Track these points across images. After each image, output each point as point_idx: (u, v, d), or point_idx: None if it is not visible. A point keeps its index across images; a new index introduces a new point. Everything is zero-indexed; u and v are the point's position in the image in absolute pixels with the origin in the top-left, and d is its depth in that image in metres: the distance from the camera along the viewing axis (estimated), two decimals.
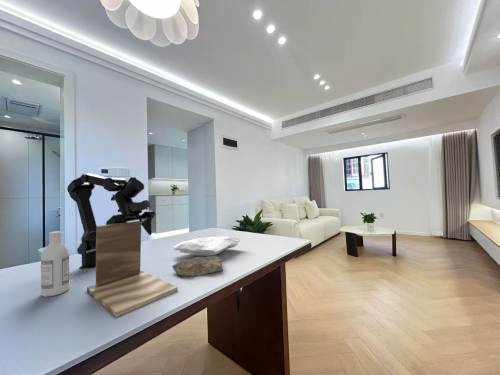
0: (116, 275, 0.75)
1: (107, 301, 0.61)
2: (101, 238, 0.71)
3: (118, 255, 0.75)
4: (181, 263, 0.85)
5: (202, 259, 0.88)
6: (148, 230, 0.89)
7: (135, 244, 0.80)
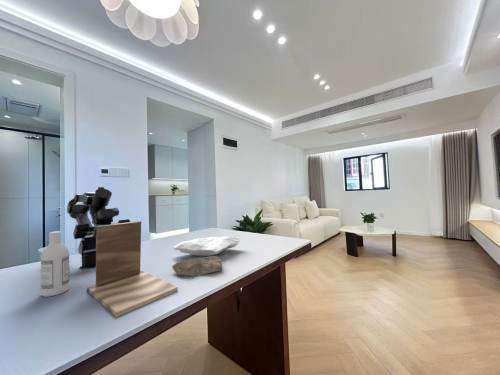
0: (116, 275, 0.75)
1: (107, 301, 0.61)
2: (101, 238, 0.71)
3: (118, 255, 0.75)
4: (181, 263, 0.85)
5: (202, 259, 0.88)
6: None
7: (135, 244, 0.80)
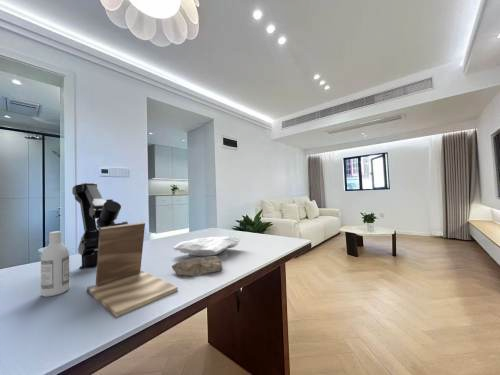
0: (117, 275, 0.75)
1: (107, 301, 0.61)
2: (104, 240, 0.69)
3: (119, 256, 0.74)
4: (181, 263, 0.85)
5: (201, 259, 0.88)
6: None
7: (137, 245, 0.79)
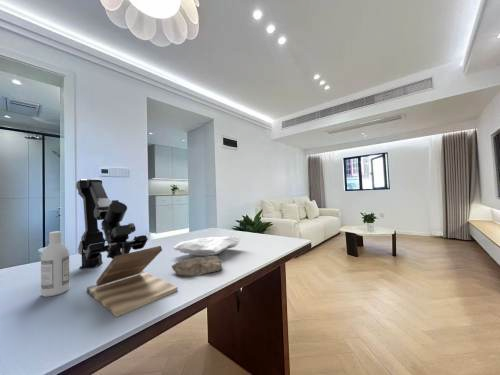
0: (118, 278, 0.74)
1: (107, 301, 0.61)
2: (115, 266, 0.64)
3: (126, 270, 0.71)
4: (180, 263, 0.85)
5: (201, 259, 0.88)
6: None
7: (146, 262, 0.74)
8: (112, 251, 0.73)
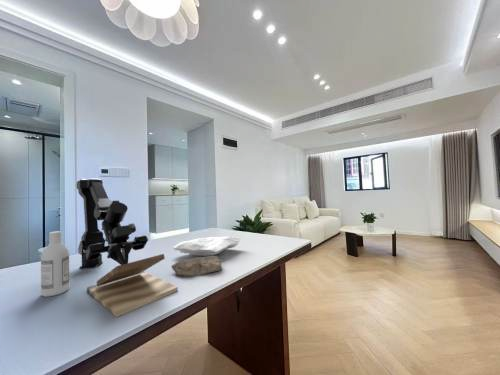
0: (118, 279, 0.74)
1: (107, 301, 0.61)
2: (117, 273, 0.63)
3: (127, 274, 0.70)
4: (180, 263, 0.85)
5: (201, 259, 0.88)
6: (125, 262, 0.74)
7: (148, 266, 0.74)
8: (112, 252, 0.73)
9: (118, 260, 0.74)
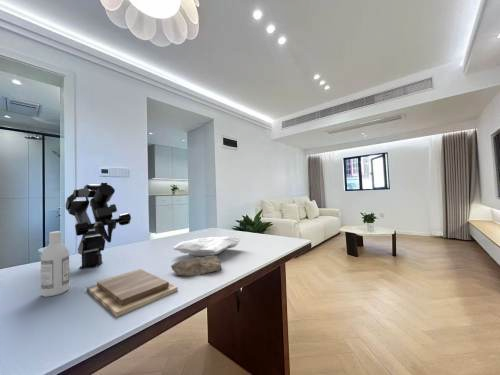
0: None
1: (107, 301, 0.61)
2: None
3: None
4: (180, 263, 0.85)
5: (201, 259, 0.88)
6: (108, 238, 0.85)
7: None
8: (97, 229, 0.84)
9: (103, 236, 0.85)
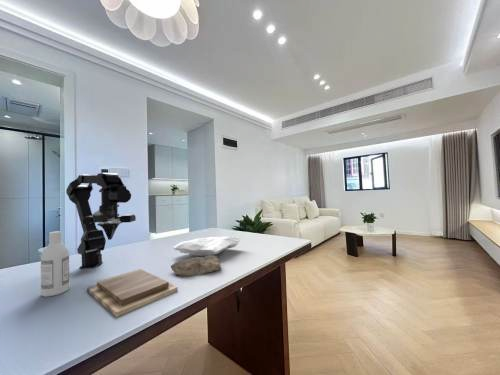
0: None
1: (107, 301, 0.61)
2: None
3: None
4: (179, 263, 0.85)
5: (200, 259, 0.88)
6: None
7: None
8: None
9: None
